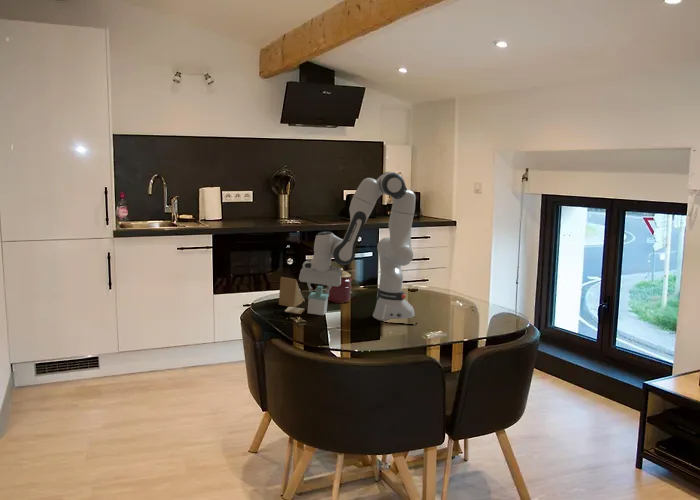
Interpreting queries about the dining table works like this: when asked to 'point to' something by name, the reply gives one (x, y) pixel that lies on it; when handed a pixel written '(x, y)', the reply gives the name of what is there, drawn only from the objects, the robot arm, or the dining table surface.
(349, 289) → the canister
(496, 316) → the dining table surface
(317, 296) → the lid
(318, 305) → the box
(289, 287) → the sandwich container
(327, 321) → the dining table surface
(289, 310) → the board
